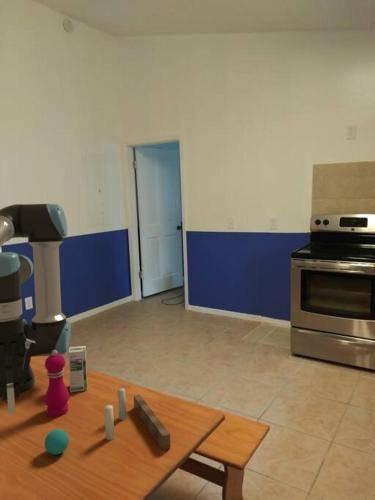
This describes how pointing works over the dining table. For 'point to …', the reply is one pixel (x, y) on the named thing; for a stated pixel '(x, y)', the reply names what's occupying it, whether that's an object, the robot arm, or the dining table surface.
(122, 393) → the grey pin
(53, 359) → the pepper mill
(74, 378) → the syrup box
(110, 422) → the ivory pin
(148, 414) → the back wall
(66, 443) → the ball
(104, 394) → the dining table surface
